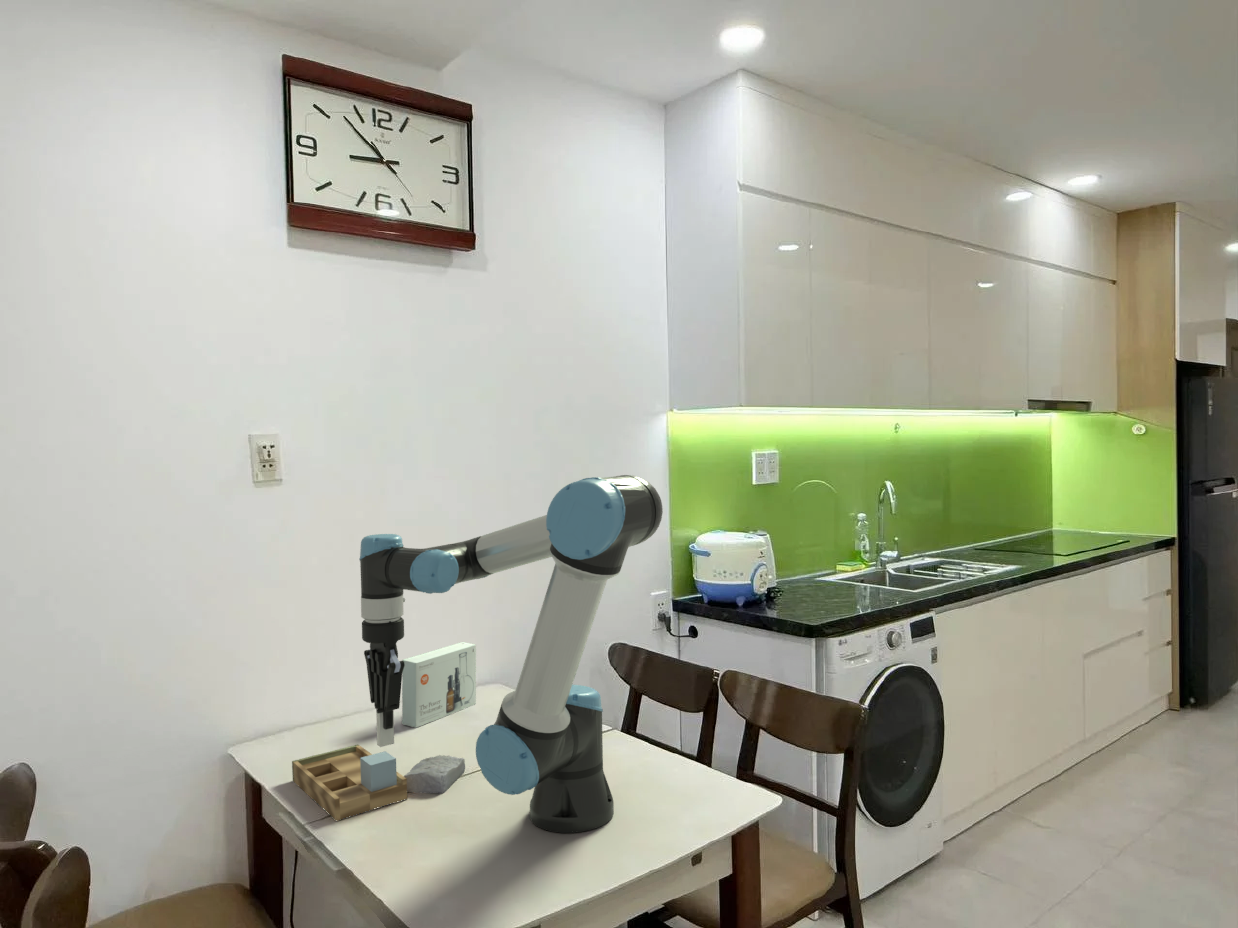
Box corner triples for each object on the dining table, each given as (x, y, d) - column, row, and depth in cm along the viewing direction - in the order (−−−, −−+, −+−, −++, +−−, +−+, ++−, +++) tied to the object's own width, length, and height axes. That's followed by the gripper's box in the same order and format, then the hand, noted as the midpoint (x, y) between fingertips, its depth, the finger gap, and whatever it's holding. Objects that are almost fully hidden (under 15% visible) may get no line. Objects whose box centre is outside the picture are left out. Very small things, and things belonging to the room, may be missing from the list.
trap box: (407, 799, 160) (406, 778, 160) (335, 821, 152) (335, 799, 151) (358, 762, 179) (358, 744, 179) (292, 780, 170) (292, 760, 170)
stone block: (399, 801, 164) (447, 794, 162) (395, 777, 164) (442, 769, 162) (425, 779, 175) (470, 772, 174) (421, 756, 176) (465, 749, 174)
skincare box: (417, 729, 199) (415, 662, 199) (401, 725, 202) (399, 659, 202) (478, 704, 217) (476, 643, 216) (462, 701, 220) (461, 640, 219)
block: (396, 784, 160) (396, 758, 160) (371, 791, 157) (370, 765, 157) (386, 776, 164) (385, 750, 164) (361, 783, 161) (360, 757, 160)
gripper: (417, 621, 153) (419, 749, 154) (387, 609, 163) (390, 729, 164) (377, 627, 148) (380, 759, 149) (349, 615, 158) (352, 739, 159)
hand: (385, 743), depth 157 cm, fingers closed
